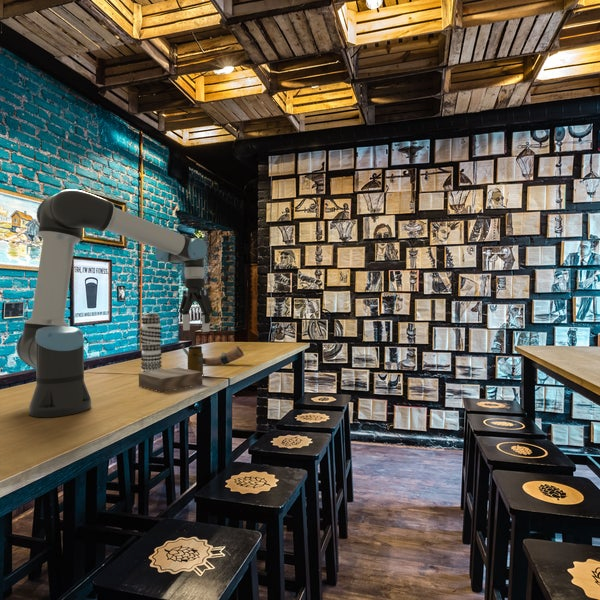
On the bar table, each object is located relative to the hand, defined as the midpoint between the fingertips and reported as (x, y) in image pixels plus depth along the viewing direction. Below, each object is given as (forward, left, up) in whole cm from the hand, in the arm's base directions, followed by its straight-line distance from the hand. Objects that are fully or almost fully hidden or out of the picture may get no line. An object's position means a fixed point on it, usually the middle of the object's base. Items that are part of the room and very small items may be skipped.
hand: (195, 331), depth 167 cm
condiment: (0, 0, -18) cm, 18 cm away
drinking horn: (+21, +18, -18) cm, 33 cm away
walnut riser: (-16, -8, -19) cm, 26 cm away
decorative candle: (-4, +28, -18) cm, 34 cm away
